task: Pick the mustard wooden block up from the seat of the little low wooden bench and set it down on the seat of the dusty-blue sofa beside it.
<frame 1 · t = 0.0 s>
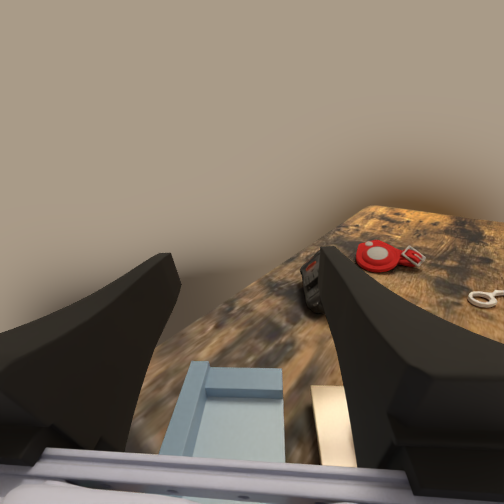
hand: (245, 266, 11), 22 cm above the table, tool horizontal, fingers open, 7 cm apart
battery: (320, 296, 42), on the table
low wooden bench: (390, 477, 20), on the table
tracker holder: (384, 265, 49), on the table
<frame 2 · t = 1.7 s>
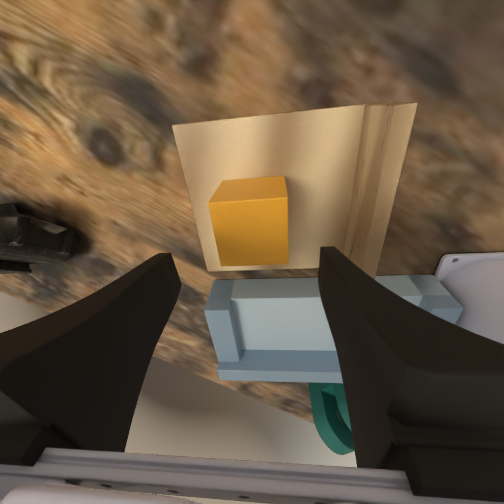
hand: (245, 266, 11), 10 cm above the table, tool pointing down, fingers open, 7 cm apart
block: (255, 207, 18), point 2 cm above the table, touching low wooden bench
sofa: (314, 311, 27), on the table
bracket: (369, 390, 35), on the table
battery: (27, 225, 23), on the table
low wooden bench: (275, 195, 20), on the table
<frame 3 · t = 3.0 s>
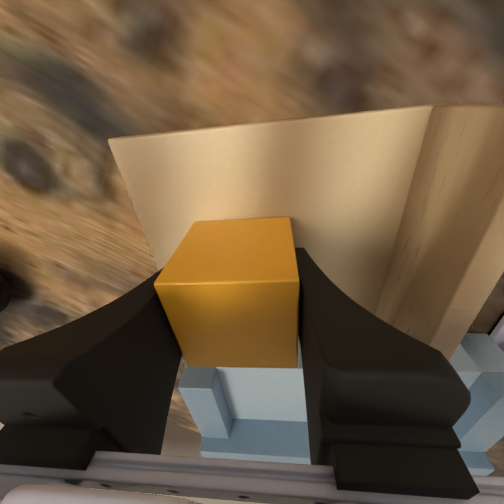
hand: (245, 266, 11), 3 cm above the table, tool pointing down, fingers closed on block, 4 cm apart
block: (245, 258, 12), point 2 cm above the table, touching low wooden bench, gripper
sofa: (326, 369, 21), on the table
low wooden bench: (275, 234, 14), on the table
when the fingers open (4 cm above the table, at t = 7.3 s): block stays where it is, resting on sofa.
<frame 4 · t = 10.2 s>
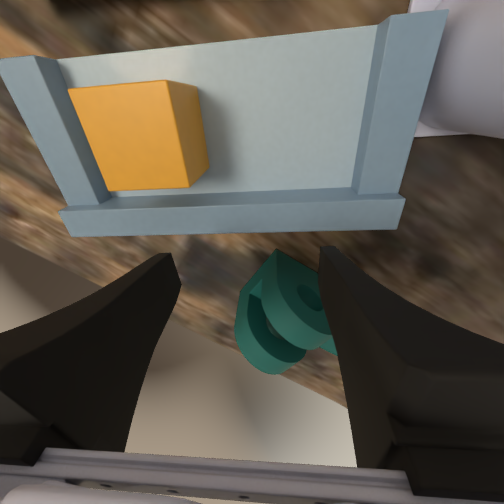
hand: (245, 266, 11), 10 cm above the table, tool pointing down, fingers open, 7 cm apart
block: (169, 132, 15), point 3 cm above the table, touching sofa
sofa: (227, 140, 17), on the table
bracket: (323, 307, 26), on the table
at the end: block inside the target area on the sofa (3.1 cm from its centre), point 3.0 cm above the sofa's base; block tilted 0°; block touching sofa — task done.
